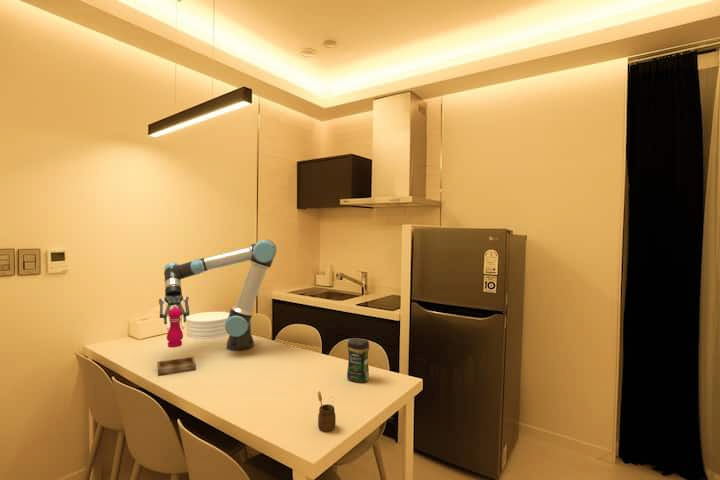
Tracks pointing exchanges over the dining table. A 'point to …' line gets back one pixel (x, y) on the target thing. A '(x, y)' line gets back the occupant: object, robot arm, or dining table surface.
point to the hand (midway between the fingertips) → (175, 328)
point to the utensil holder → (326, 416)
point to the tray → (176, 366)
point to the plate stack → (207, 325)
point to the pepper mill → (174, 328)
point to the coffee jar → (358, 360)
